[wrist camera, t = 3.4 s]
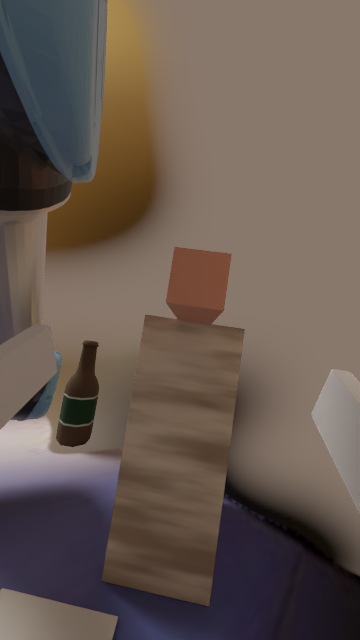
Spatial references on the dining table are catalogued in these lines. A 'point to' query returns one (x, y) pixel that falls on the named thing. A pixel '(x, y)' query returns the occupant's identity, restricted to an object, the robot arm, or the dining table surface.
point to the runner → (50, 619)
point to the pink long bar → (198, 284)
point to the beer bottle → (79, 400)
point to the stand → (175, 460)
